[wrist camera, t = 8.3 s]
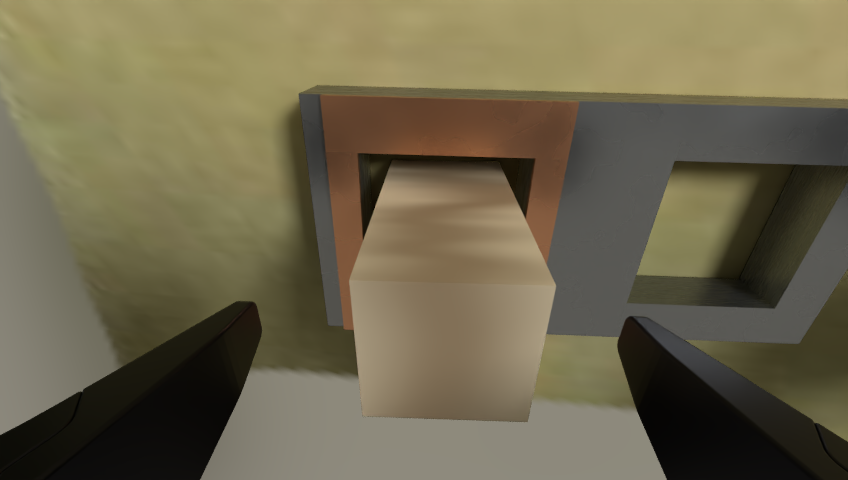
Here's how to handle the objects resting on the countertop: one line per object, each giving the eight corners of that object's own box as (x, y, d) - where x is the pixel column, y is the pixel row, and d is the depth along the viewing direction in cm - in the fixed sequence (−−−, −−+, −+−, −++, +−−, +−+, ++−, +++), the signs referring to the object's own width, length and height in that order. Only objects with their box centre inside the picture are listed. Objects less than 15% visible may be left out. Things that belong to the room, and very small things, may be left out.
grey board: (879, 100, 13) (957, 112, 11) (761, 312, 17) (802, 347, 15) (317, 85, 13) (296, 94, 11) (339, 296, 18) (326, 328, 16)
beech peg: (498, 161, 14) (556, 285, 7) (489, 253, 16) (527, 422, 9) (392, 159, 15) (348, 280, 8) (394, 251, 16) (362, 416, 9)
